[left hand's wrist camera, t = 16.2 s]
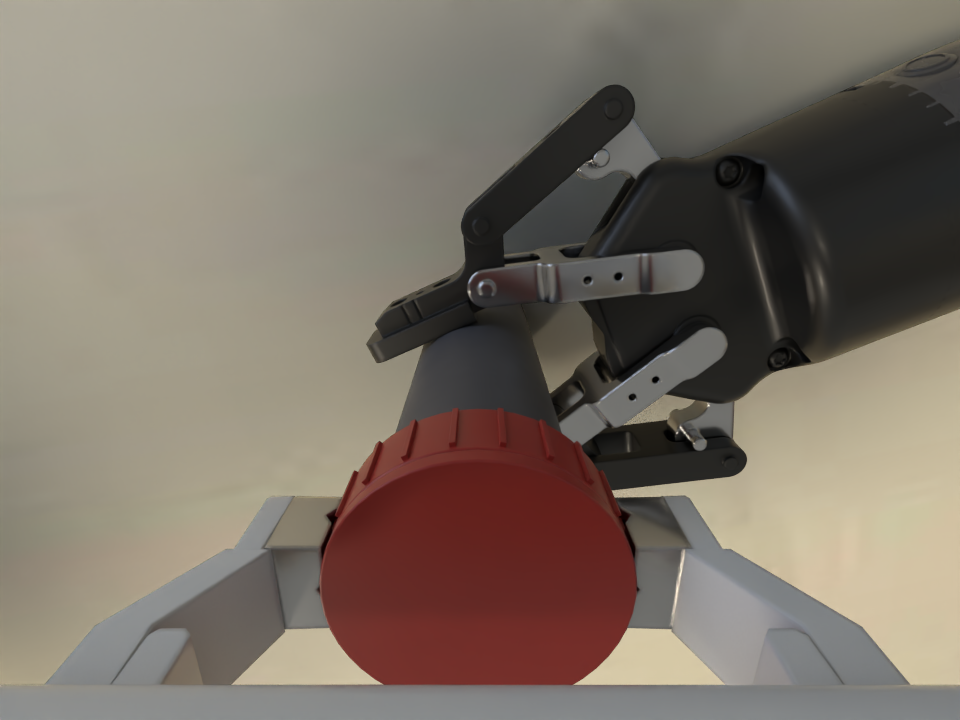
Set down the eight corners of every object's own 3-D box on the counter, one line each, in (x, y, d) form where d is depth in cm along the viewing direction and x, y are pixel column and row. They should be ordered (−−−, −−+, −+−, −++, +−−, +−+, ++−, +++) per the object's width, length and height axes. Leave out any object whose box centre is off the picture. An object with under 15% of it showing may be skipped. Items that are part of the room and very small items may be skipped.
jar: (545, 327, 24) (647, 568, 9) (479, 388, 25) (478, 690, 10) (479, 260, 23) (478, 415, 8) (412, 327, 24) (308, 568, 9)
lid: (534, 351, 9) (547, 394, 7) (659, 567, 11) (693, 643, 9) (287, 485, 10) (246, 549, 8) (435, 664, 12) (428, 749, 10)
